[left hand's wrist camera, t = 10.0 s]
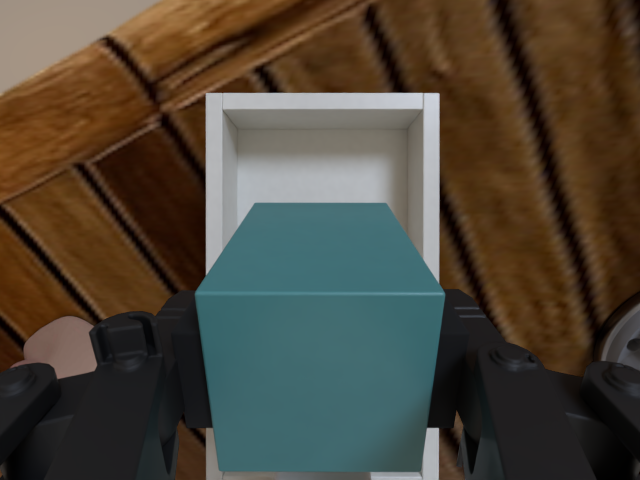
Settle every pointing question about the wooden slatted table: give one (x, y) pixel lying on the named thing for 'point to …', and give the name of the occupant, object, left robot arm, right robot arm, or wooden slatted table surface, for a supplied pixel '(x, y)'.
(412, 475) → the tray
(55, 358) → the anatomical model
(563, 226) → the wooden slatted table surface
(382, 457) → the block
